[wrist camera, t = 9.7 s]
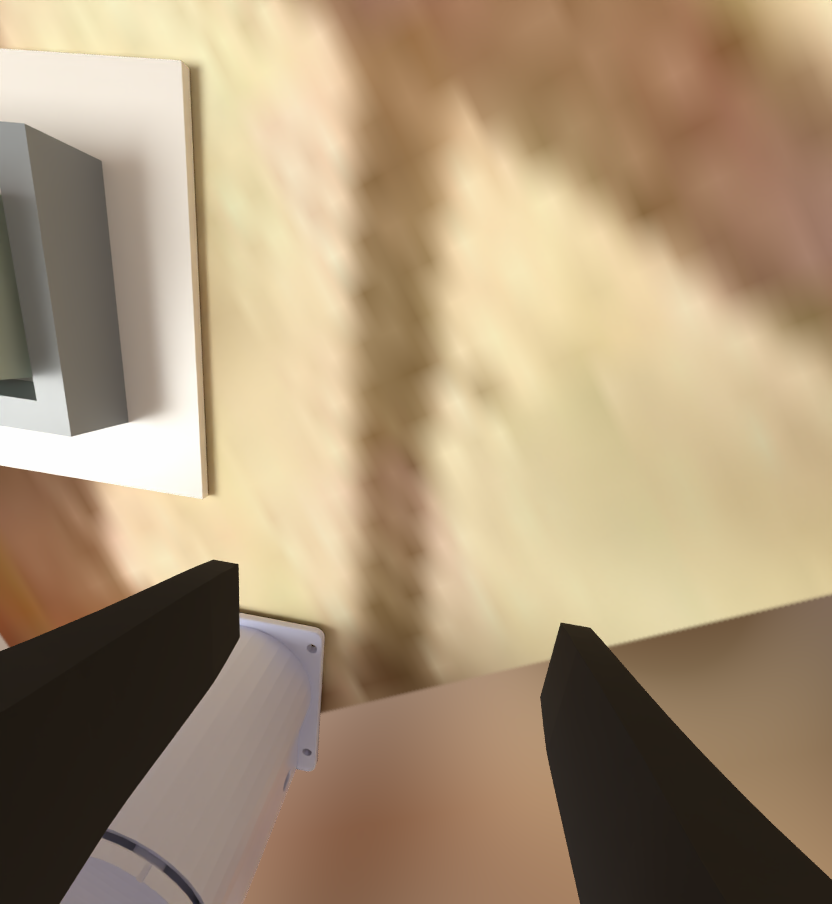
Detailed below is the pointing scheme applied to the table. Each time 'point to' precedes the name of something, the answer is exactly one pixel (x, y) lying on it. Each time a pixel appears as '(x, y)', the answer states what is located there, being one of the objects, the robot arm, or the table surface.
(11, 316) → the key block
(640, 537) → the table surface
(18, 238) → the slot holder
